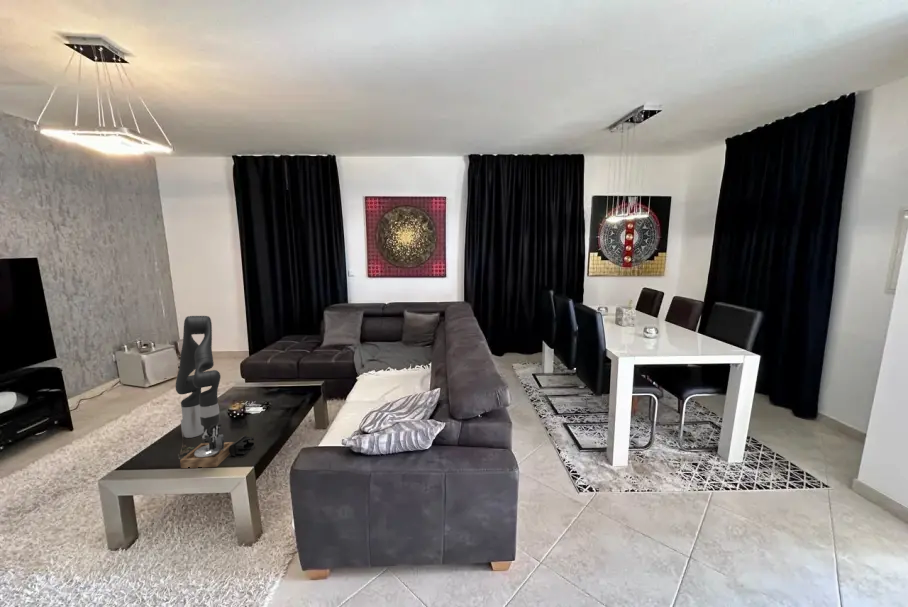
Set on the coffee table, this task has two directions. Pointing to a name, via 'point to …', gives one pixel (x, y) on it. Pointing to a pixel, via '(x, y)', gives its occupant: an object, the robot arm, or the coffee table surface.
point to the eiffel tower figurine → (185, 450)
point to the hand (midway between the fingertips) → (212, 448)
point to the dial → (207, 453)
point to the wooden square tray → (205, 462)
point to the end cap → (241, 446)
